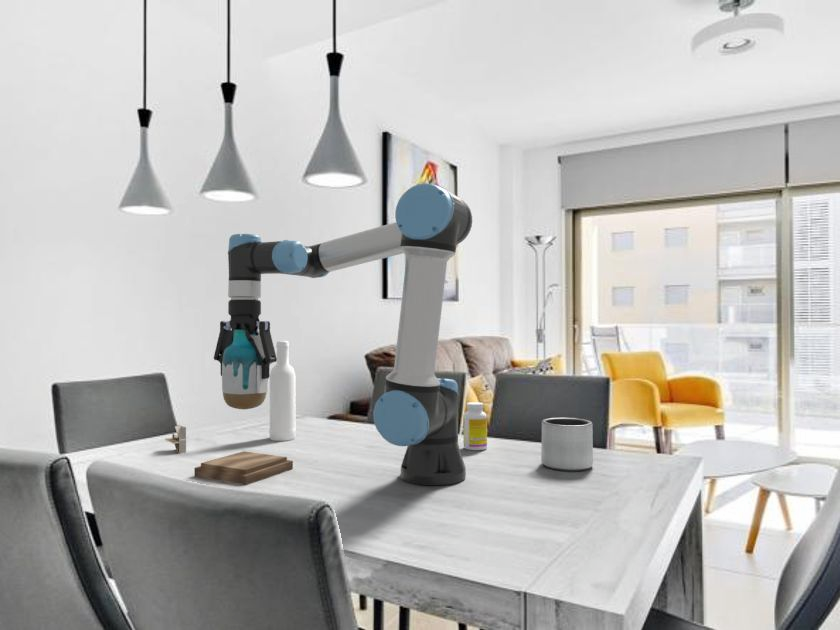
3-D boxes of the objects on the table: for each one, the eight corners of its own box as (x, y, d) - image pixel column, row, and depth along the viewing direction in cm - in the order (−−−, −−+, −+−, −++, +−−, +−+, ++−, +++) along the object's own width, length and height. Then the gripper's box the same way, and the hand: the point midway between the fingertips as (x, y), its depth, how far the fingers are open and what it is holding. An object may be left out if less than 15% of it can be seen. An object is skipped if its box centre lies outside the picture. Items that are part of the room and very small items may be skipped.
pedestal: (292, 468, 148) (292, 456, 148) (245, 485, 133) (245, 471, 133) (243, 461, 155) (243, 450, 155) (194, 476, 141) (194, 463, 141)
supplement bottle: (491, 449, 170) (491, 403, 170) (473, 452, 166) (473, 405, 166) (476, 445, 175) (476, 401, 175) (458, 447, 171) (458, 402, 171)
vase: (253, 413, 138) (254, 330, 138) (212, 411, 141) (213, 329, 141) (275, 406, 149) (275, 329, 149) (236, 405, 151) (237, 328, 151)
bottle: (287, 441, 180) (287, 341, 180) (264, 440, 182) (264, 341, 182) (300, 436, 188) (300, 340, 188) (277, 435, 190) (277, 340, 190)
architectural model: (173, 456, 164) (173, 428, 164) (164, 451, 169) (164, 425, 169) (186, 454, 166) (186, 427, 166) (177, 450, 171) (177, 424, 171)
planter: (570, 458, 159) (570, 415, 159) (604, 468, 148) (603, 423, 148) (531, 463, 153) (531, 419, 154) (563, 474, 142) (562, 427, 142)
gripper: (292, 298, 142) (292, 392, 142) (221, 300, 153) (221, 387, 153) (270, 298, 136) (270, 395, 136) (198, 299, 146) (197, 390, 146)
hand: (244, 391), depth 144 cm, fingers closed on vase, 10 cm apart
